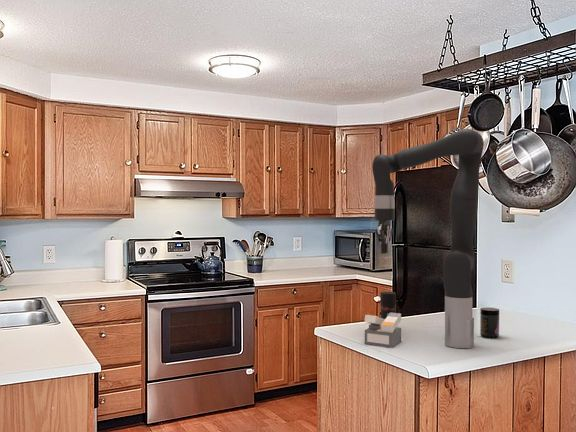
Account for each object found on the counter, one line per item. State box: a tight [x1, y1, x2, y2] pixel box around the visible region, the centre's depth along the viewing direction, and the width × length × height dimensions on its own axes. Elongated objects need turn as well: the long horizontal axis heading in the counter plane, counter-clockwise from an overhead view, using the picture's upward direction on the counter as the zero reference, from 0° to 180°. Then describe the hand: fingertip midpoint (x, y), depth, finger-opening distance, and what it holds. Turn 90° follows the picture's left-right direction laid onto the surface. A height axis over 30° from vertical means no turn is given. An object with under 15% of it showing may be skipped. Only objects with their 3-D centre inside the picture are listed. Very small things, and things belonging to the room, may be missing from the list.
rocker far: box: [364, 314, 385, 325], centre depth 193 cm, size 4×10×3 cm, turn 149°
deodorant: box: [380, 291, 397, 319], centre depth 210 cm, size 6×6×15 cm
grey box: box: [364, 323, 402, 349], centre depth 191 cm, size 10×10×6 cm
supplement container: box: [479, 307, 500, 340], centre depth 200 cm, size 7×7×10 cm
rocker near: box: [381, 312, 402, 333], centre depth 189 cm, size 4×10×3 cm, turn 149°
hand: (384, 253), depth 203 cm, fingers closed
